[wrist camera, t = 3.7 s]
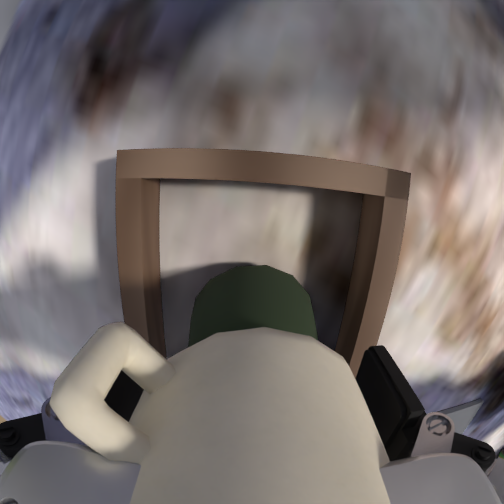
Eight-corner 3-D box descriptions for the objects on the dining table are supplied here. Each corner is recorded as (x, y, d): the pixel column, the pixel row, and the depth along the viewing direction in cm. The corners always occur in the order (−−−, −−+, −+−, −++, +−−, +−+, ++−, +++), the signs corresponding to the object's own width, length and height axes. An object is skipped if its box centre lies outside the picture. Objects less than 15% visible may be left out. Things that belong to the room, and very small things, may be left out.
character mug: (137, 281, 15) (-21, 477, 2) (236, 191, 13) (64, 430, 1) (265, 399, 17) (272, 589, 4) (358, 339, 16) (453, 535, 3)
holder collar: (386, 171, 13) (410, 173, 11) (331, 415, 17) (338, 440, 15) (139, 152, 13) (117, 150, 10) (157, 405, 17) (147, 430, 15)
